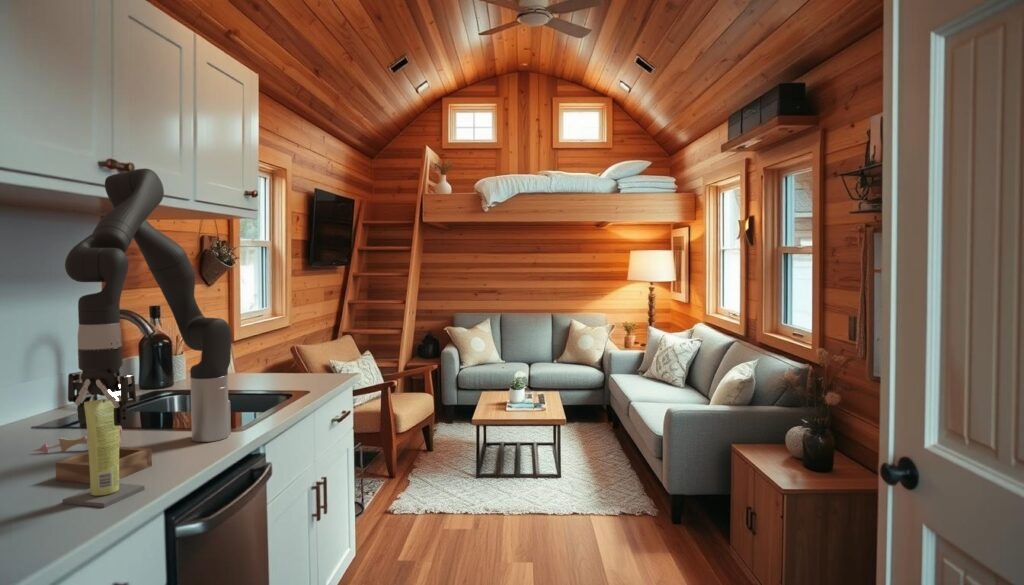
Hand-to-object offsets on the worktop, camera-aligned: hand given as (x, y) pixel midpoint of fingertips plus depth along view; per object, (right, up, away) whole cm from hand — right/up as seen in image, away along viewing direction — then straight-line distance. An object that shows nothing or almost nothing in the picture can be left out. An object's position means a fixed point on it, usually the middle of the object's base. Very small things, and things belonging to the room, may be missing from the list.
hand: (102, 423), depth 126 cm
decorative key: (-28, -14, +32) cm, 45 cm away
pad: (0, -15, +1) cm, 15 cm away
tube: (0, -15, +1) cm, 15 cm away
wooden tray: (-9, -15, +15) cm, 23 cm away
